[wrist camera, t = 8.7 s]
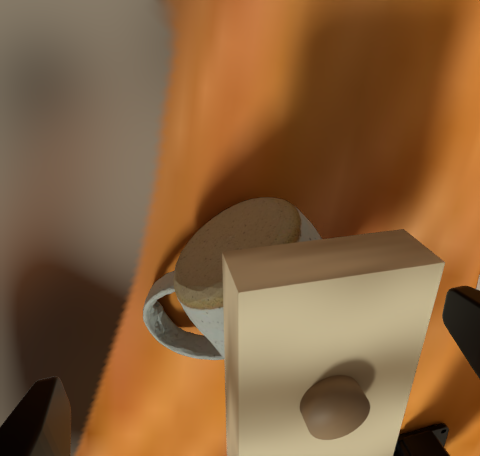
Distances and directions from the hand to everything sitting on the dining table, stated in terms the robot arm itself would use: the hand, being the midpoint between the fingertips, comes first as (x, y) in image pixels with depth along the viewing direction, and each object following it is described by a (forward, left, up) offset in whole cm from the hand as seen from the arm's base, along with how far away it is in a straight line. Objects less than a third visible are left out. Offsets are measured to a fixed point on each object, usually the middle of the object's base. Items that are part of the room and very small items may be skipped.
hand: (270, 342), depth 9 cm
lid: (-7, -3, -5) cm, 9 cm away
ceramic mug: (-7, -2, -13) cm, 15 cm away
